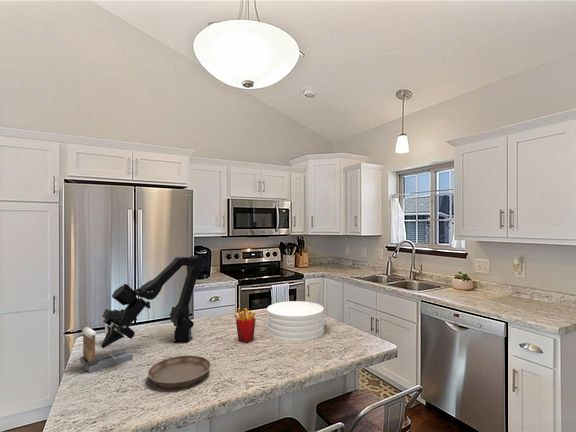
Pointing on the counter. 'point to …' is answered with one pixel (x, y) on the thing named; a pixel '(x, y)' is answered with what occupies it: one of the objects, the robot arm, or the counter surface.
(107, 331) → the white cup
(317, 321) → the plate stack
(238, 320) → the french fries
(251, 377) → the counter surface
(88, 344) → the slide lever
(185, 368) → the plant saucer
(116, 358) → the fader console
